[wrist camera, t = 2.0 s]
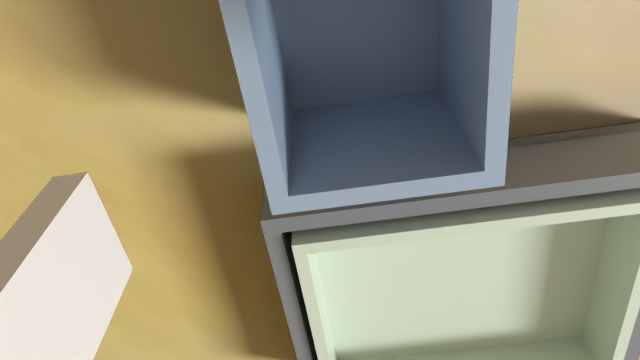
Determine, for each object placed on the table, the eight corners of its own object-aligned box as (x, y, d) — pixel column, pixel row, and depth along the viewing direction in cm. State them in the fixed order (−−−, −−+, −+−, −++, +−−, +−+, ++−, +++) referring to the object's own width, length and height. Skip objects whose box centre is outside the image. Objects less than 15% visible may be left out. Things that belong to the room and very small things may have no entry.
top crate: (293, 197, 25) (291, 245, 22) (625, 153, 24) (673, 198, 21) (328, 361, 32) (330, 415, 29) (584, 333, 31) (615, 386, 28)
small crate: (237, -95, 19) (201, -69, 12) (451, -132, 18) (527, -123, 12) (281, 118, 24) (272, 215, 17) (451, 95, 23) (504, 185, 17)
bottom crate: (266, 171, 25) (259, 221, 22) (647, 120, 24) (702, 164, 20) (313, 364, 34) (313, 420, 30) (595, 333, 32) (628, 389, 29)
